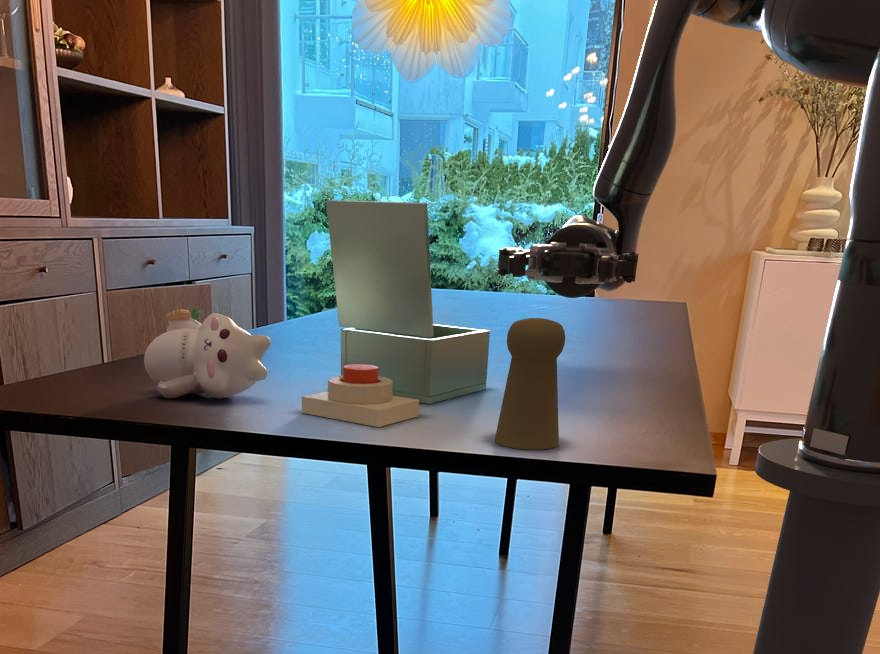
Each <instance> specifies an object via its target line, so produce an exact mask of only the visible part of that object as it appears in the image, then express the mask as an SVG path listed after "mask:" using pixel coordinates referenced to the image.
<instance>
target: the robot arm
mask: <svg viewBox="0 0 880 654" xmlns="http://www.w3.org/2000/svg"><path fill="white" fill-rule="evenodd" d="M691 15H693V16H696V17H698V18H702V19H704V20H707V21H709V22H714V23H717V24H719V25H722V26H727V27H731V28H736V29H744V30H750V31H754V32H755V31H756V32H760V33H762V35H763V39H764V41H765V44H766V45H767V47H768V49H769V50H770V51H771V52H772V53H773V54H774V55H775V56H776V57H777V58H778V59H780V60H781V61H782V62H784V63H785V64H788V65H789V66H792V67H793V68H795V69H797V70H798V71H800V72H802V73H805V74H806V75H808V76H810V77H813V78H816V79H819V80H824V81H828V82H833V83H836V84H841V85H845V86H846V85H847V86H850V87H857V88H862V89H863V88H864V89H866V92H865V93H866V94H865V99H864V103H863V109H862V116H861V122H860V127H859V134H858V141H857V146H856V152H855V158H854V162H853V163H854V164H853V168H852V174H851V179H850V185H849V198H848V201H849V203H848V204H849V226H848V230H847V236H846V239H847V240H846V241H845V245H844V249H843V254H842V258H841V263H840V267H839V272H838V276H837V281H836V284H835V289H834V292H833V293H834V294H833V298H832V303H831V307H830V310H829V316H828V321H827V324H826V329H825V333H824V338H823V341H822V346H821V350H820V354H819V360H818V363H817V368H816V372H815V377H814V382H813V385H812V386H813V387H812V390H811V395H810V398H809V403H808V408H807V413H806V418H805V422H804V425H803V426H804V427H803V428H802V432H801V438H802V439H801V441H800V442H799V447H798V451H797V454H798V455H799V456H800V457H802V458H803V459H805V460H807V461H810V462H813V463H816V464H819V465H822V466H826V467H831V468H835V469H840V470H847V471H853V472H862V473H874V474H880V0H656V1H655V4H654V7H653V10H652V15H651V17H650V21H649V24H648V27H647V31H646V34H645V38H644V42H643V45H642V49H641V52H640V56H639V59H638V62H637V66H636V70H635V73H634V77H633V81H632V85H631V88H630V91H629V95H628V98H627V101H626V104H625V107H624V111H623V113H622V117H621V119H620V121H619V124H618V127H617V129H616V132H615V134H614V136H613V139H612V141H611V143H610V146H609V149H608V151H607V153H606V156H605V158H604V160H603V162H602V165H601V168H600V170H599V172H598V175H597V177H596V178H595V179H596V180H595V182H594V186H593V191H592V193H593V197H594V199H595V200H596V202H597V203H598V204H600V206H601V207H603V208H604V209H605V210H606V211H608V212H609V213H610V214H611V215H612V216H613V217H614V218H615V220H616V223H617V228H618V230H616V229H614V228H612V227H610V226H607V225H605V224H603V223H601V222H598V220H595V219H592V218H590V217H587V216H584V215H574V216H573V217H571V218H570V219H569V220H568V221H567V222H565V224H564V225H563V226H562V227H561V228H559V229H557V230H556V231H555V232H554V233H553V234H552V235H551V236H550V237H549V238H548V239H547V241H546V243H545V244H532V245H530V246H529V248H528V249H524V248H522V247H519V246H517V245H514V246H513V247H502V248H499V249H498V261H497V273H496V274H497V275H500V277H505V276H507V275H511V276H512V278H522V277H526V278H527V279H528V280H529V281H537V282H540V281H541V282H542V281H544V283H545V284H546V286H547V287H548V288H549V290H551V291H552V292H553V293H555V294H556V295H558V296H560V297H564V298H567V299H577V298H578V299H579V298H582V297H585V296H587V295H590V294H591V293H593V292H594V291H595V290H597V289H599V290H602V291H604V292H613V291H616V290H618V289H619V288H621V287H622V286H623V285H624V284H625V283H626V284H631V283H633V282H634V283H635V282H636V277H637V270H638V269H637V268H638V261H639V253H637V252H638V251H637V249H638V243H639V239H640V233H641V227H642V224H643V220H644V217H645V213H646V210H647V208H648V205H649V202H650V200H651V198H652V195H653V193H654V191H655V190H656V187H657V184H658V182H659V180H660V178H661V176H662V174H663V172H664V170H665V168H666V165H667V163H668V161H669V158H670V156H671V154H672V150H673V146H674V143H675V137H676V130H677V110H676V109H677V106H676V105H677V104H676V64H677V62H676V61H677V55H678V50H679V46H680V43H681V39H682V36H683V33H684V31H685V28H686V26H687V23H688V21H689V19H690V17H691ZM526 266H527V267H526Z"/></svg>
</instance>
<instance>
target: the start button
mask: <svg viewBox="0 0 880 654" xmlns="http://www.w3.org/2000/svg"><path fill="white" fill-rule="evenodd" d="M343 382H345V383H352V384H374V383H378V367H377V366H374V365H366V364H351V365H345V366H343Z"/></svg>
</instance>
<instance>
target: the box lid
mask: <svg viewBox="0 0 880 654" xmlns="http://www.w3.org/2000/svg"><path fill="white" fill-rule="evenodd" d="M325 205H326V213H327V223H328V224H327V225H328V233H329V242H330V253H331V262H332V263H331V264H332V272H333V280H334V290H335V299H336V310H337V318H338V327H340V328H357V329H365V330H373V331H382V332H390V333H398V334H407V335H415V336H423V337H433V336H434V334H433V324H434V315H433V296H432V295H433V293H432V274H431V255H430V253H431V251H430V235H429V234H430V233H429V231H430V230H429V210H428V202H413V201H412V202H411V201H410V202H409V201H378V200H377V201H374V200H343V199H342V200H341V199H340V200H339V199H328V200H325Z"/></svg>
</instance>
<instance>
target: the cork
mask: <svg viewBox="0 0 880 654" xmlns="http://www.w3.org/2000/svg"><path fill="white" fill-rule="evenodd" d="M565 344H566V333H565V329H564V327H563V325H562V324H561V323H560V322H558V321H554V320H552V319H548V318H542V317H529V318H522V319H518V320H515V321H514V322H513V323H512V324H511V325H510V327H509V328H508V331H507V334H506V346H507V347H506V348H507V351H508V352H509V354H510V356H511V357H510V358H511V359H510V363H509V368H508V373H507V378H506V383H505V387H504V391H503V392H504V393H503V397H502V402H501V407H500V412H499V417H498V422H497V427H496V431H495V435H494V436H495V437H494V441H495V443H496V444H498V445H501V446H503V447H506V448H511V449H517V450H526V451H527V450H530V451H531V450H533V451H536V450H537V451H540V450H548V449H554V448H556V447H558V446H559V444H560V438H559V437H560V435H559V430H560V428H559V394H558V393H559V392H558V390H559V389H558V357H559V356H560V355H561V354H562V352H563V350H564V347H565Z"/></svg>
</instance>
